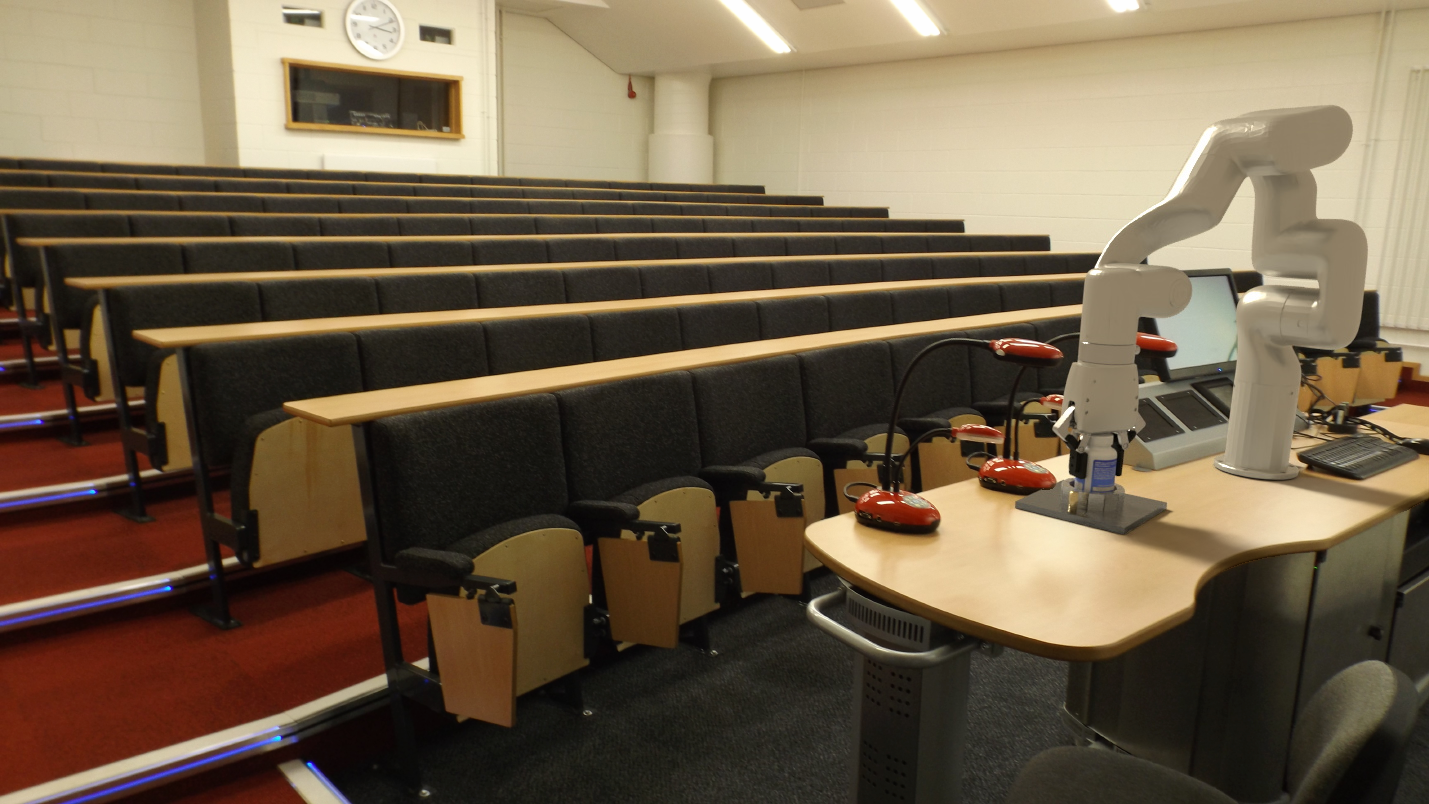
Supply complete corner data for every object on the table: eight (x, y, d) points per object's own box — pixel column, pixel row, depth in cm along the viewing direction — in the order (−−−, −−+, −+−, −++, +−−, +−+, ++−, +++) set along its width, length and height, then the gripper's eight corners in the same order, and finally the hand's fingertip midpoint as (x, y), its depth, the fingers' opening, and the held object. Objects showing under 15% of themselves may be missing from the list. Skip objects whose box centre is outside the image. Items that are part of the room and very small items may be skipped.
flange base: (1062, 485, 147) (1064, 461, 147) (1166, 508, 136) (1169, 483, 136) (1014, 507, 136) (1017, 482, 136) (1123, 534, 125) (1126, 507, 124)
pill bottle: (1118, 496, 136) (1124, 433, 134) (1105, 505, 132) (1112, 440, 130) (1081, 489, 140) (1087, 427, 138) (1067, 497, 136) (1073, 433, 134)
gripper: (1138, 348, 137) (1126, 464, 141) (1038, 352, 133) (1029, 472, 137) (1175, 356, 130) (1161, 478, 134) (1071, 361, 126) (1060, 487, 130)
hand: (1094, 474), depth 135 cm, fingers closed on pill bottle, 5 cm apart
